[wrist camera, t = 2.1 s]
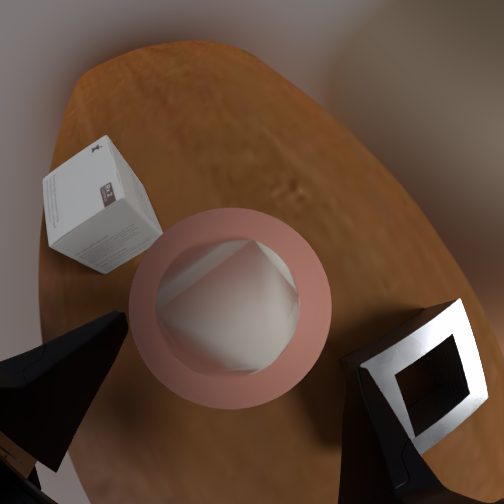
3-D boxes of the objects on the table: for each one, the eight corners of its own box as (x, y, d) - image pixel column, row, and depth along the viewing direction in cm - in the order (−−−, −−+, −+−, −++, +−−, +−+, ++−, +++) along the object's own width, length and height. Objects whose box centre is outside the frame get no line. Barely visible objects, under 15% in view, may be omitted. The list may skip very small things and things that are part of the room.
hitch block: (454, 391, 15) (488, 397, 11) (374, 446, 15) (398, 468, 11) (426, 307, 18) (459, 298, 13) (339, 359, 17) (360, 364, 13)
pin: (297, 344, 18) (363, 357, 5) (234, 370, 17) (169, 431, 5) (271, 283, 19) (278, 181, 7) (209, 308, 19) (110, 251, 6)
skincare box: (89, 218, 22) (40, 178, 15) (144, 184, 22) (106, 130, 15) (105, 277, 20) (46, 248, 13) (167, 240, 21) (125, 194, 14)
